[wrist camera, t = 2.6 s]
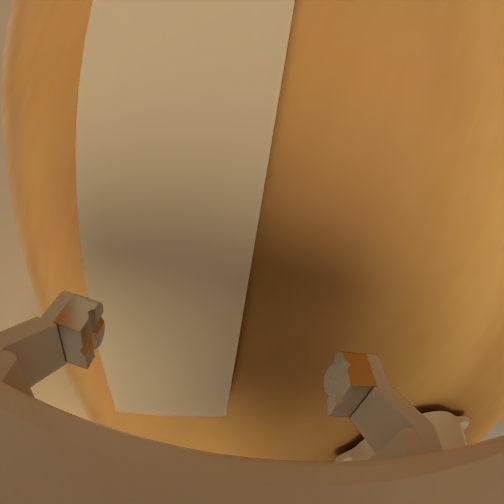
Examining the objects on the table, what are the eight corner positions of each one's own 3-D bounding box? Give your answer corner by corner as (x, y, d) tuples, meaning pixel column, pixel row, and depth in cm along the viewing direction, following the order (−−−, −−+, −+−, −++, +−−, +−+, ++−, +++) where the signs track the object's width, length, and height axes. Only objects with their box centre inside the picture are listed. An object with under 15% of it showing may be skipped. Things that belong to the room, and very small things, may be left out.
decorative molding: (280, -19, 14) (127, -30, 12) (302, -45, 10) (110, -58, 8) (220, 377, 30) (122, 373, 28) (225, 416, 25) (116, 411, 23)
